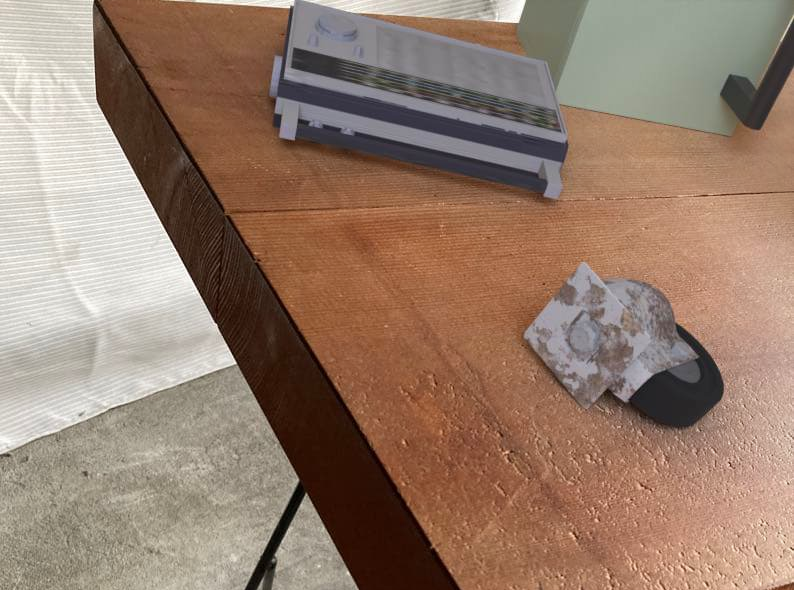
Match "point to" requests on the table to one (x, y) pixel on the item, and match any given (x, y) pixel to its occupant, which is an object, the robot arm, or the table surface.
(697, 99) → the cabinet door
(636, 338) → the camo patterned piece
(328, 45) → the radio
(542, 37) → the cabinet
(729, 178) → the table surface
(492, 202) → the table surface
